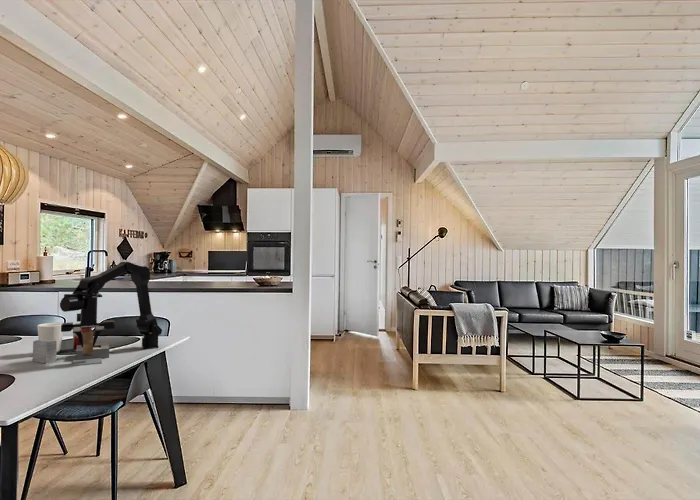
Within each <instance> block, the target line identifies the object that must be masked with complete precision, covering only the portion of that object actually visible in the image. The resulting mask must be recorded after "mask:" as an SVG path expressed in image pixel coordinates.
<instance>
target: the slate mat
mask: <svg viewBox="0 0 700 500" xmlns="http://www.w3.org/2000/svg"><path fill="white" fill-rule="evenodd" d="M97 364H103V361H102V358H96V359H85V360H76V359H74V360H72V367H76V366H87V365H97Z"/></svg>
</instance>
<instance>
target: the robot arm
mask: <svg viewBox="0 0 700 500" xmlns="http://www.w3.org/2000/svg"><path fill="white" fill-rule="evenodd" d="M125 273H126V274H127V275H129V276H130V280H131V282H133V284H134V285H135V289H136V296H137V301H138V308H139V317H138V318H137V319H136V318H135V322H136V328H137V329H138V330H139V333H140V335H143V337H141V347H142V348H143V349H144V350H145V349H146V350H147V349H157V348H159V336H160V335H162V333H163V330H162V328H161V327H160V326H159V325H158V322H157V319H156V317H155V315H154V314H153V312H152V306H151V300H150V299H151V298H150V293H149V286H148V285H149V281H150V279H151V270H150V268H149V267H148V266H146V265H145V266H143V265H138V264H136V263H132V262H131V261H121V262H119V263H118V264H116V265H113V266H112V267H110V268H108V269H107V270H105V271H102V272H100V273H99V274H96V275H92V276H87V277H84V278H81V280H79V283H78V285H77V286H76V288H75V290H74V291H73V292H72V293H71V294H70V293H65V294H63V297H62V298H61V299H60V301H59V302H60V303H59V307H60V310H61V311H62V312H66V313H67V312H75V311H76V312H77V311H80V313H76V323H80V324H76V323H74V322H72V321H71V322H62V323H63V324H62V325H61V332H63V333H65V332H71V331H72V334H73V333H76V335H77V336H78V338H79V341H80V343H81V346H82V347H83V338H82V330H81V328H92V329H93V328H94V333H93V347H94V345H95V344H97V340H98V337H99V336H100V334H101V332H104V329H105V330H112V329H113V330H114V329H115V328H116V322H115V320H112V319H111V320H103V322H97V321H98V298H103V294H101V293H99V291H100V290H102V289H104V287H105V286H106V284H107V283H108V282H110V281H112V280H114V279H115V278H117V277H119V276H121V275H122V274H125Z"/></svg>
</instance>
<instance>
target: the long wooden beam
mask: <svg viewBox="0 0 700 500" xmlns="http://www.w3.org/2000/svg"><path fill="white" fill-rule="evenodd" d="M93 339H94V329H92V330H86V331H83V357H86V356H93Z"/></svg>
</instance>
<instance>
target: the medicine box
mask: <svg viewBox="0 0 700 500" xmlns="http://www.w3.org/2000/svg"><path fill="white" fill-rule="evenodd" d="M32 342H33V343H32V362H34V363H41V364H50V363H55V362H57V354H56V348H57V341H55V340H47V339H41V340H39V339H37V340H33V341H32Z"/></svg>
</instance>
